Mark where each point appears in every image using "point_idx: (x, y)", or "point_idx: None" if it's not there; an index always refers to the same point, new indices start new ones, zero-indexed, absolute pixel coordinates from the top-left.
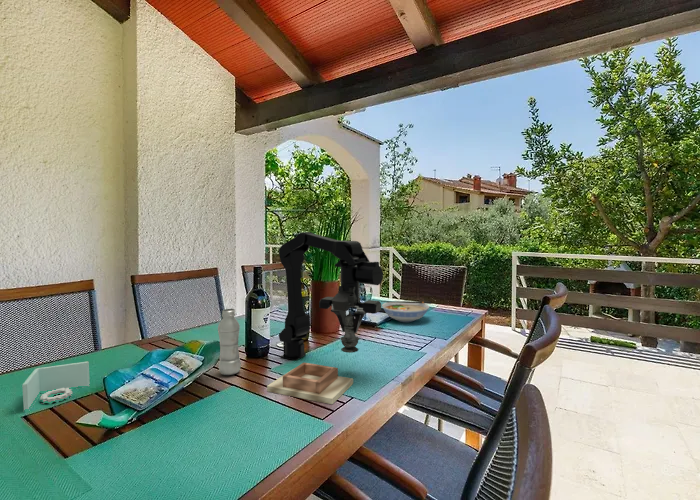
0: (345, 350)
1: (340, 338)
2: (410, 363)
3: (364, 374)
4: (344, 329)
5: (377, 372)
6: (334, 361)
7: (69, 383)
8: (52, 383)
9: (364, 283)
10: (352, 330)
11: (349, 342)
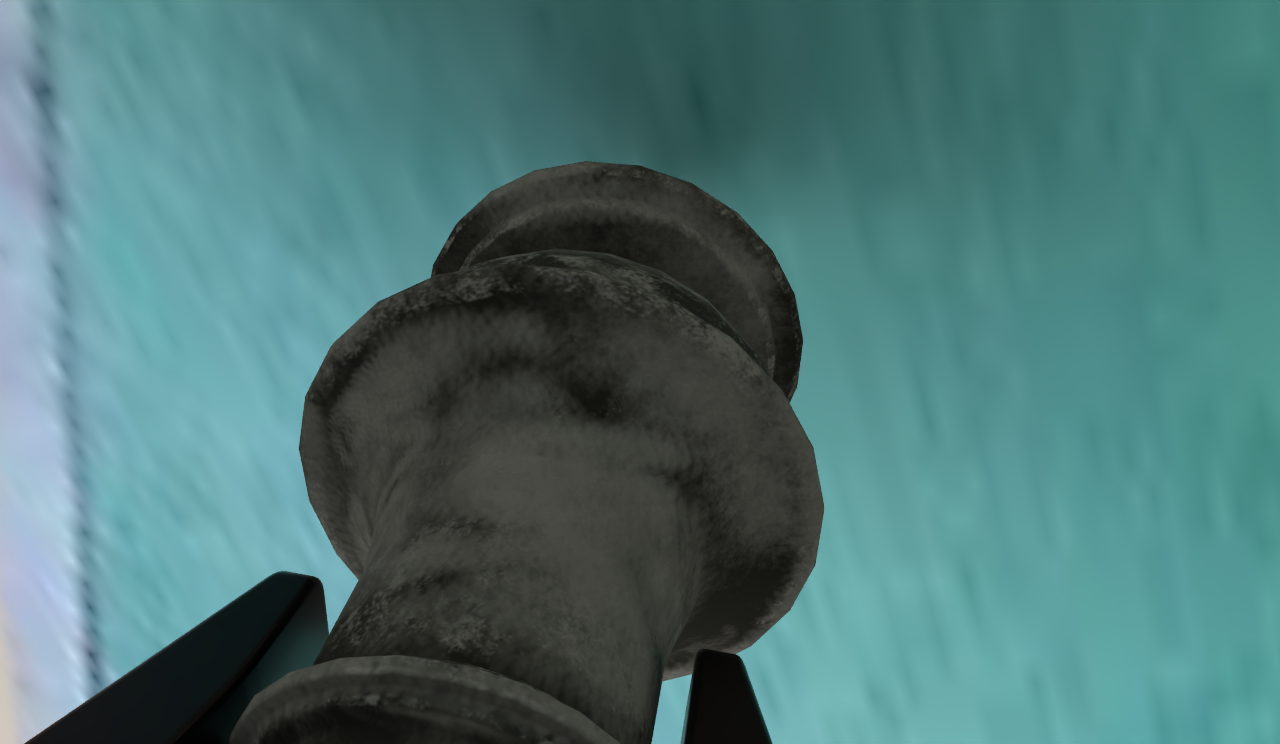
0: (657, 213)
1: (806, 455)
2: (108, 574)
3: (454, 156)
4: (684, 733)
5: (320, 264)
6: (1010, 504)
7: None
8: None
9: None
10: (336, 629)
11: (486, 285)
